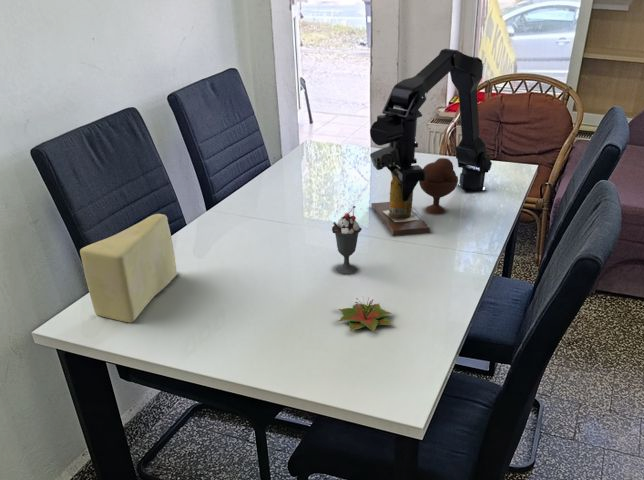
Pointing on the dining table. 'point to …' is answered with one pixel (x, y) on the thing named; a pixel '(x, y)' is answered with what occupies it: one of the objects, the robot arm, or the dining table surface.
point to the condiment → (399, 202)
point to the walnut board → (400, 227)
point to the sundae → (346, 240)
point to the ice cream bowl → (438, 182)
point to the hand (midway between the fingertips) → (401, 196)
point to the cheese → (129, 268)
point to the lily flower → (365, 316)
